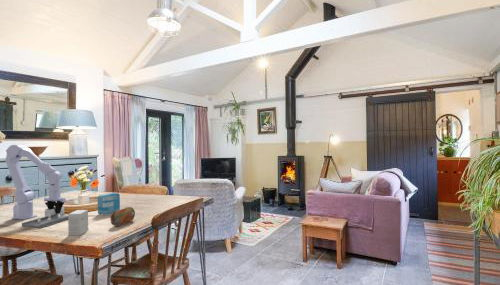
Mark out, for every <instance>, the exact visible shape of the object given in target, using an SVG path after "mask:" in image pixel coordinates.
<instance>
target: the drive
mask: <svg viewBox="0 0 500 285" xmlns="http://www.w3.org/2000/svg"><path fill="white" fill-rule="evenodd" d="M53 214H56V208H55V206H54V207H52V208H48V207H47V208H45V209H44V217H46V216H48V215H53ZM59 214H60V215H65V206H64V205H63V206H62V208H61V212H60V213H59Z"/></svg>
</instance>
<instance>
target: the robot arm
mask: <svg viewBox="0 0 500 285" xmlns="http://www.w3.org/2000/svg"><path fill="white" fill-rule="evenodd" d="M5 152H6V156H5V163H6V165H7V168H8V172H9V174H10V176H11V179H12V181H13V184H14V187H15V191H14V201H15V204H14V205H13V209H12V213H13V216H12V217H11V219H12V220H13V219H14V220H28V219H31V218H35V217H37V214H34V199H35V197H36V193H35V191H33V189H32V188H31V187H30V186H29V185H28V184H27V181H26V177H25V176H24V173H23V170H22V168H21V165H20V162H19V161H20V160H21V159H22V157H23V158H27V159H28V160H29V161H31V162H32V163H33V164H35V165H36V166H37V169H38V171H39V172H41V173H42V174H43V175H44V176H46V180H47V182H48V197H44V198H43V201H44V204H45V205H46V207H47V209H48V208H52V207H55V208H56V214H59V213H60V212H61V208H62V206H64V204H65V202H66V198H65V197H61V179H62V177H63V174H62V172H61V171H59V170H57V169H56V168H54V167H52V165H51V163H49V162H44V161H43V160H41V159H40V158H39V157H38V156H37V155H36V154H35V153H34V152H33V150H32V149H31V148H30V147H28V146H27V145H25V144H12V145H10V146H8V147H7V149H6V150H5Z"/></svg>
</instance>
